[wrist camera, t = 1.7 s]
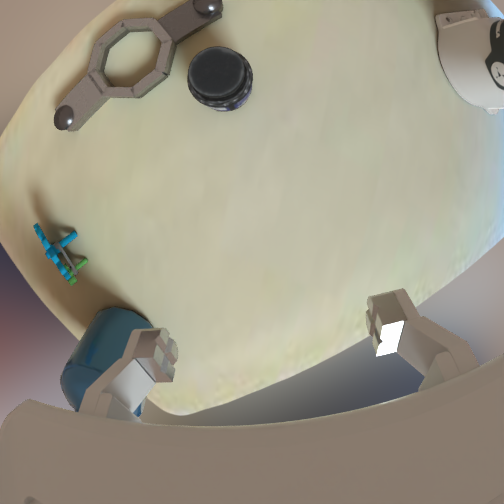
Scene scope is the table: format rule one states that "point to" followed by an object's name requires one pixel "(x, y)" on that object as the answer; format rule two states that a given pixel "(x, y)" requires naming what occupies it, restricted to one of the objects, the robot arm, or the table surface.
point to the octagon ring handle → (101, 89)
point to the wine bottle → (99, 352)
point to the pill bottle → (220, 78)
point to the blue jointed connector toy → (56, 249)
